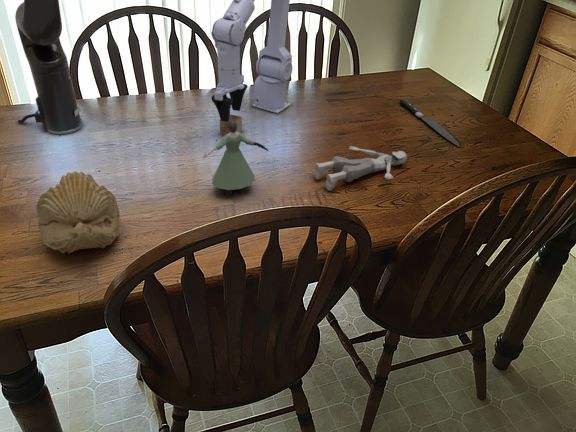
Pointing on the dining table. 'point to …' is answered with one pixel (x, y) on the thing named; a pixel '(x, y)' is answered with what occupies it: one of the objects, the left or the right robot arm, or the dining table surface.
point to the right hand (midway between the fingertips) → (230, 115)
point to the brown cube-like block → (224, 127)
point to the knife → (429, 121)
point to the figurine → (358, 166)
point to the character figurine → (233, 162)
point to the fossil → (78, 214)
